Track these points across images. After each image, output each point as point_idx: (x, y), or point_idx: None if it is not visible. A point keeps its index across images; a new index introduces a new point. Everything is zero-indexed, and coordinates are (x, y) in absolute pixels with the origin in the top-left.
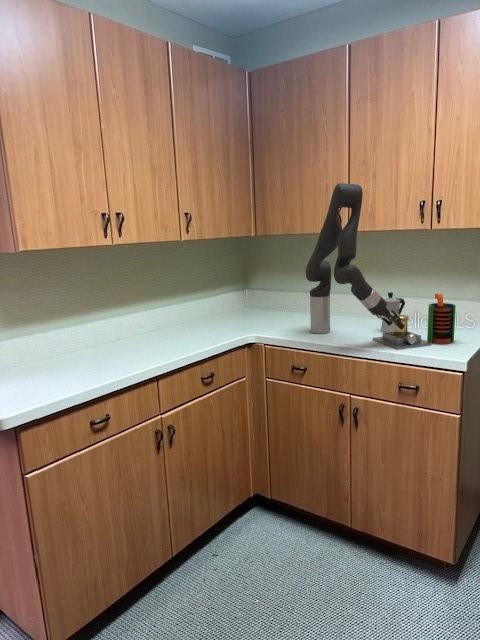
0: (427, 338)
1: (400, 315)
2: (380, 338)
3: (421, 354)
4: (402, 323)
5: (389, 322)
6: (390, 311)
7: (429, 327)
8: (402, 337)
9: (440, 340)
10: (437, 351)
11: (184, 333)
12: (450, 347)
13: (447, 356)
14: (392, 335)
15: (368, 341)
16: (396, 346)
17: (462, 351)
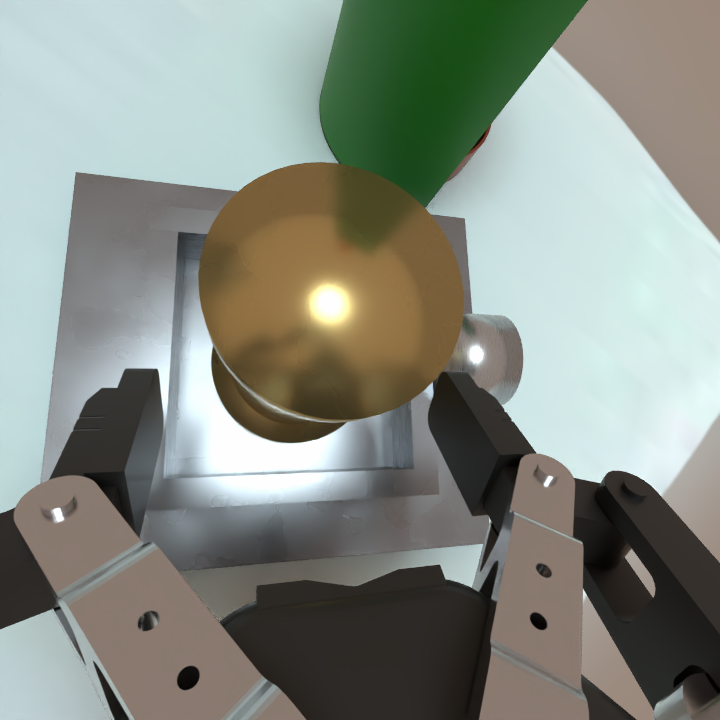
0: (382, 174)
1: (260, 243)
2: None
3: (630, 442)
4: (488, 404)
5: (152, 430)
6: (577, 686)
7: (466, 114)
8: (418, 422)
9: (477, 149)
10: (596, 304)
11: None
12: (539, 172)
13: (697, 330)
14: (173, 389)
15: (71, 656)
16: (467, 532)
17: (630, 186)
